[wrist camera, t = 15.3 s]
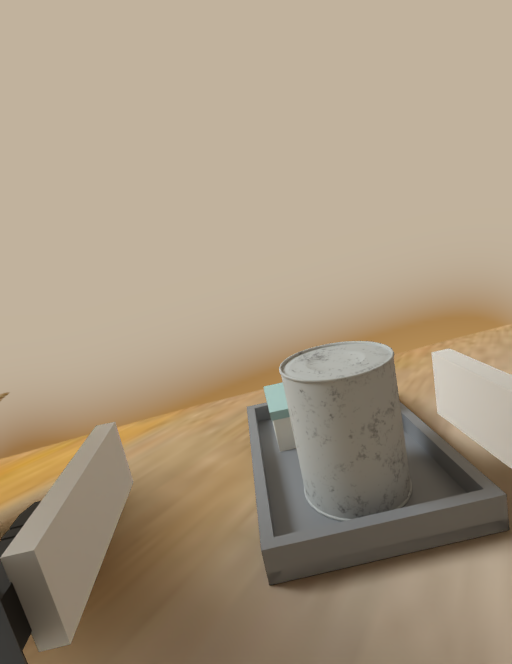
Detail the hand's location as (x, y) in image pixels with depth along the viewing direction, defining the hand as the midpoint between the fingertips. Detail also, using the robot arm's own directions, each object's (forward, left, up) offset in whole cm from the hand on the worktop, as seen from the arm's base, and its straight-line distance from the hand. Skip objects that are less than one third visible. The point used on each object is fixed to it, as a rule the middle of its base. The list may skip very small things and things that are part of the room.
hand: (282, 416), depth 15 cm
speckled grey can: (-11, +13, -16) cm, 24 cm away
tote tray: (-16, +16, -17) cm, 28 cm away
